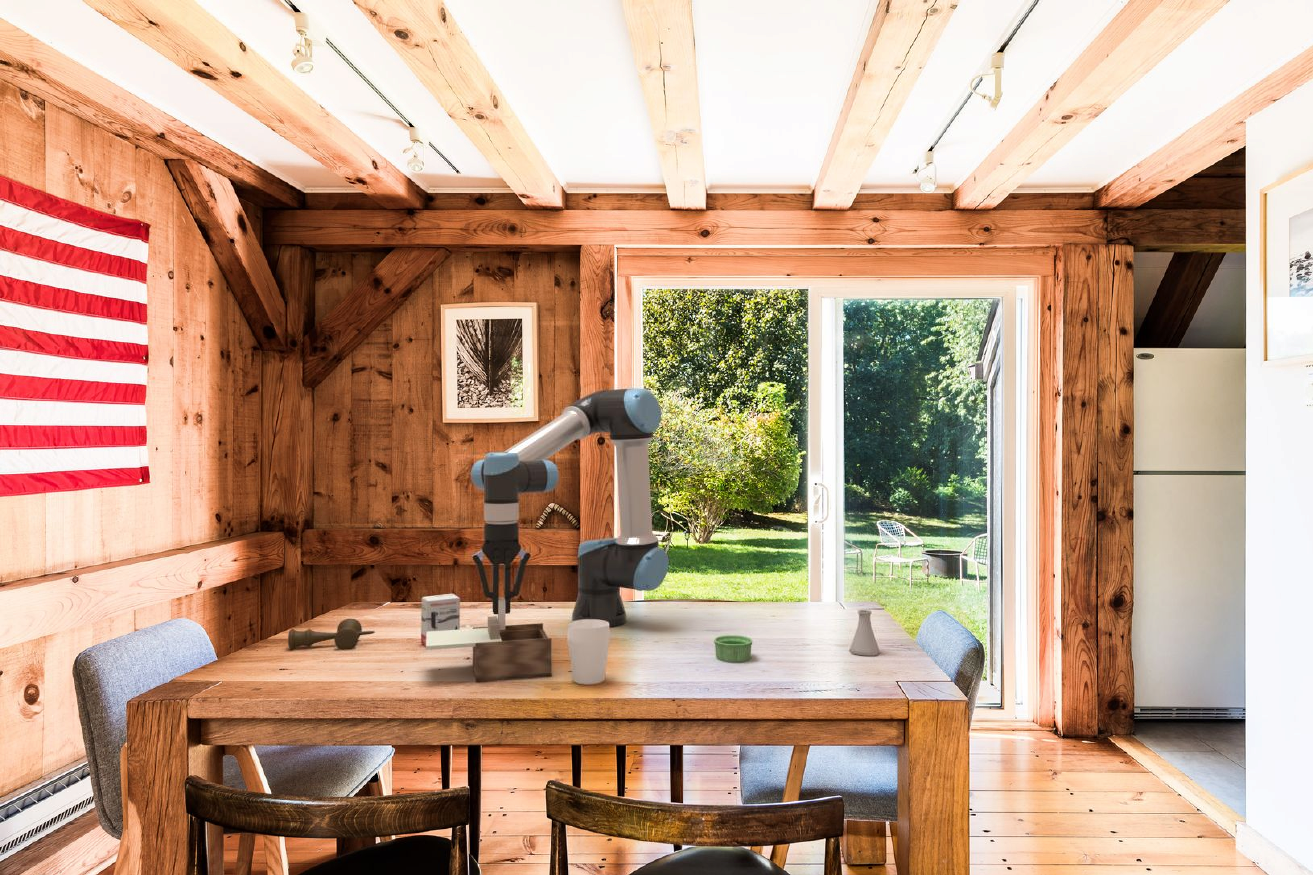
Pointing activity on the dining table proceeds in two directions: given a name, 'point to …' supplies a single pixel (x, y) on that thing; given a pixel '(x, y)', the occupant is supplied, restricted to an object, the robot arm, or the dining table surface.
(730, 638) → the ramekin
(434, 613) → the ink box
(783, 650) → the dining table surface
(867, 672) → the dining table surface
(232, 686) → the dining table surface
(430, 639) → the lid
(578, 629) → the cup
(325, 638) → the kendama
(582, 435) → the robot arm
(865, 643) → the flask
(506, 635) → the box
